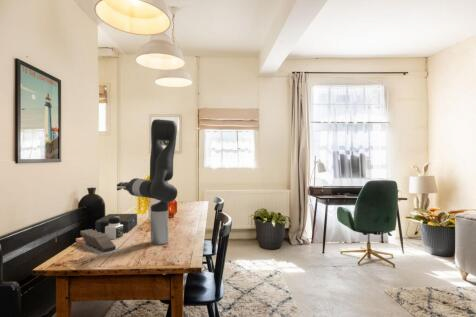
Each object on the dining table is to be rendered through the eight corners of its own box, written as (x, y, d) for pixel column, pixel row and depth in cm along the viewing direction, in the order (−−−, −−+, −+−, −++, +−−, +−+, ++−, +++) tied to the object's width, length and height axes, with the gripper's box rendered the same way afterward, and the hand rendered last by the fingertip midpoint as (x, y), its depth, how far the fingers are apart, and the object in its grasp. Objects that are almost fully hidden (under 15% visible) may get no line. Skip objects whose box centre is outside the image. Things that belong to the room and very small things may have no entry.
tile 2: (111, 244, 150) (100, 232, 157) (98, 247, 145) (88, 234, 152) (110, 247, 150) (100, 235, 157) (98, 250, 146) (88, 237, 153)
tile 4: (101, 240, 156) (92, 228, 163) (89, 243, 151) (80, 230, 159) (100, 243, 156) (91, 231, 164) (89, 246, 152) (79, 233, 159)
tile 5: (97, 238, 159) (87, 236, 167) (85, 241, 155) (75, 238, 162) (97, 242, 159) (87, 239, 167) (85, 244, 155) (75, 241, 162)
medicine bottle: (116, 240, 166) (116, 218, 166) (104, 239, 168) (104, 217, 168) (123, 236, 173) (123, 216, 173) (112, 236, 175) (112, 215, 175)
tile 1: (115, 246, 147) (104, 233, 154) (103, 249, 142) (93, 235, 149) (115, 249, 147) (104, 236, 154) (103, 252, 142) (92, 238, 150)
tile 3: (106, 242, 153) (96, 230, 160) (94, 245, 148) (84, 232, 155) (105, 245, 153) (95, 233, 160) (93, 248, 149) (84, 235, 156)
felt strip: (122, 251, 146) (122, 250, 146) (102, 256, 138) (102, 255, 138) (99, 242, 162) (99, 241, 162) (80, 246, 154) (80, 245, 154)
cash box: (129, 233, 183) (129, 220, 183) (94, 234, 181) (94, 221, 181) (138, 224, 208) (138, 213, 208) (108, 225, 206) (108, 213, 206)
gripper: (154, 178, 131) (134, 175, 142) (126, 179, 121) (106, 177, 133) (154, 195, 131) (133, 191, 143) (126, 198, 121) (106, 194, 133)
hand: (120, 184), depth 138 cm, fingers closed
